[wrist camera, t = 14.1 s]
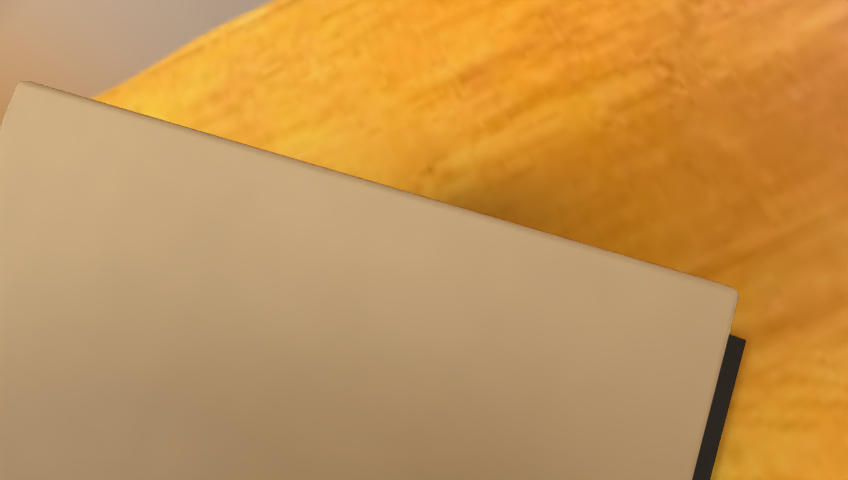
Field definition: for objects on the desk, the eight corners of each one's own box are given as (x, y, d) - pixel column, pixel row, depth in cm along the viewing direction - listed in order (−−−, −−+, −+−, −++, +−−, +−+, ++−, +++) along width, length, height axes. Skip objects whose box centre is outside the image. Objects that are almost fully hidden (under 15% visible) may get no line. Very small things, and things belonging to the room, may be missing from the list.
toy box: (472, 454, 16) (520, 1180, 3) (303, 394, 17) (-257, 766, 4) (522, 285, 16) (748, 276, 3) (355, 234, 17) (18, 64, 4)
